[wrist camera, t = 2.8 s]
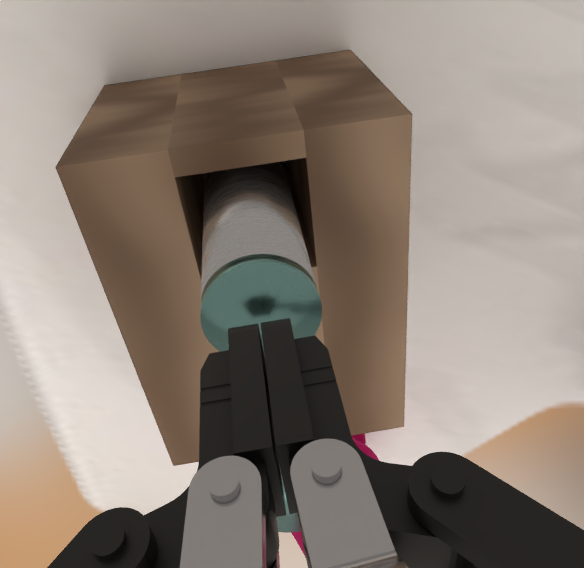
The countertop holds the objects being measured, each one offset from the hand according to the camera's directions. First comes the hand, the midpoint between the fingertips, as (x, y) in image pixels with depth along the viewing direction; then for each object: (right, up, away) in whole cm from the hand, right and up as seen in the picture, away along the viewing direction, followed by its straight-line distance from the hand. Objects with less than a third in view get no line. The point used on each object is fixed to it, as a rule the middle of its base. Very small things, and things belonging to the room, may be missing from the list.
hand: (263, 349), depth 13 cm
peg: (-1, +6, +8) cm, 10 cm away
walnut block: (-1, +5, +15) cm, 16 cm away
